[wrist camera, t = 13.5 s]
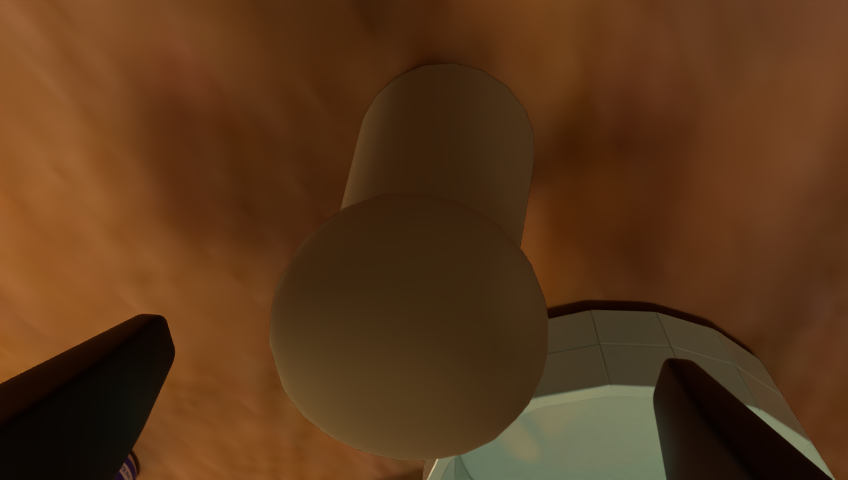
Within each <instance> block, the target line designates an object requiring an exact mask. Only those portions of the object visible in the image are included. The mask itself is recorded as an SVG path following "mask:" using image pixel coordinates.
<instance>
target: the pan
mask: <svg viewBox="0 0 848 480" xmlns="http://www.w3.org/2000/svg"><path fill="white" fill-rule="evenodd" d="M668 358H678V359H689V360H692V361H694V362H695V363H696V364H698V365H699V366H700V367H701V368H702V369H703V370H705V371H706V372H707V373H708V374H709V375H711V376H712V377H713V378H714V379H715V380H716V381H718V382H719V383H720V384H721V385H722V386H724V387H725V388H726V389H727V390H728V391H729V392H731V393H732V394H733V395H734V396H735V397H736V398H738V399H739V400H740V401H741V402H742V403H744V404H745V405H746V406H747V407H748V408H749V409H751V410H752V411H753V412H754V413H755V414H756V415H758V416H759V417H760V418H761V419H762V420H764V421H765V422H766V423H767V424H768V425H769V426H771V427H772V428H773V429H774V430H775V431H776V432H778V433H779V434H780V435H781V436H782V437H784V438H785V439H786V440H787V441H788V442H789V443H791V444H792V445H793V446H794V447H795V448H797V449H798V450H799V451H800V452H801V453H802V454H804V455H805V456H806V457H807V458H808V459H809V460H811V461H812V462H813V463H814V464H815V465H817V466H818V467H819V468H820V469H821V470H822V471H824V472H825V473H826V474H827V475H828V476H829V477H831V478H832V479H833V480H836V479H835V478H834V476H833V475H832V473H831V471H830V470H829V468H828V467H827V465H826V464H825V462H824V460H823V459H822V457H821V456H820V454H819V452H818V451H817V449H816V448H815V446H814V445H813V443H812V441H811V440H810V438H809V437H808V435H807V433H806V432H805V430H804V429H803V427H802V426H801V424H800V422H799V421H798V419H797V418H796V416H795V414H794V413H793V411H792V410H791V408H790V407H789V405H788V403H787V402H786V400H785V399H784V397H783V396H782V394H781V392H780V391H779V389H778V388H777V386H776V384H775V383H774V381H773V380H772V378H771V377H770V375H769V373H768V372H767V370H766V369H765V367H764V366H763V364H762V362H761V361H760V360H759V359H758V358H756V357H755V356H753V355H752V354H750V353H749V352H747V351H746V350H744V349H743V348H741V347H740V346H739V345H737V344H736V343H734V342H733V341H731V340H730V339H728V338H727V337H725V336H724V335H722V334H721V333H719V332H718V331H716V330H714V329H712V328H709V327H705V326H702V325H699V324H695V323H692V322H689V321H685V320H682V319H679V318H675V317H672V316H668V315H665V314H662V313H658V312H656V313H655V312H647V311H616V310H591V311H583V312H578V313H573V314H569V315H564V316H559V317H555V318H550V319H548V354H547V359H546V363H545V367H544V372H543V375H542V377H541V380H540V382H539V384H538V386H537V388H536V390H535V392H534V394H533V397H532V399H531V401H530V403H529V405H528V406H527V407H526V408H525V409H524V411H523V412H522V413H521V414H520V415H519V417H518V418H517V419H516V420H515V421H514V422H513V423H512V424H511V425H510V426H509V427H508V428H506V429H505V430H504V431H503V432H502V433H501V434H500V435H499V436H498V437H497V438H496V439H495V440H493V441H491V442H489V443H487V444H485V445H483V446H481V447H479V448H477V449H475V450H472V451H470V452H468V453H466V454H463V455H458V456H452V457H447V458H442V459H437V460H432V461H429V460H425V463H424V471H423V479H422V480H666V475H665V469H664V464H663V458H662V452H661V447H660V441H659V436H658V430H657V424H656V419H655V413H654V407H653V393H654V389H655V386H656V383H657V380H658V377H659V374H660V371H661V368H662V365H663V363H664V361H665V360H666V359H668Z"/></svg>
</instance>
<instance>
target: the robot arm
mask: <svg viewBox="0 0 848 480" xmlns="http://www.w3.org/2000/svg"><path fill="white" fill-rule="evenodd" d="M174 357H175V347H174V344H173V341H172V337H171V334H170V330H169V327H168V324H167V321H166V319H165V318H164V317H163V316H161V315H153V314H139V315H137V316H135V317H133V318H131V319H129V320H127V321H125V322H123V323H121V324H119V325H117V326H115V327H113V328H111V329H109V330H107V331H105V332H103V333H101V334H99V335H97V336H95V337H93V338H91V339H89V340H87V341H85V342H83V343H81V344H79V345H77V346H75V347H73V348H71V349H69V350H67V351H65V352H63V353H61V354H59V355H57V356H55V357H53V358H51V359H49V360H47V361H45V362H43V363H41V364H39V365H37V366H35V367H33V368H31V369H29V370H27V371H25V372H23V373H21V374H19V375H17V376H15V377H13V378H11V379H9V380H7V381H5V382H3V383H1V384H0V480H115V478H116V476H117V474H118V473H119V471H120V469H121V468H122V466H123V464H124V462H125V461H126V459H127V457H128V455H129V454H130V452H131V450H132V448H133V447H134V445H135V443H136V441H137V439H138V438H139V436H140V434H141V432H142V430H143V428H144V426H145V424H146V421H147V419H148V417H149V415H150V413H151V410H152V408H153V406H154V404H155V401H156V399H157V397H158V395H159V393H160V390H161V388H162V386H163V384H164V381H165V379H166V377H167V375H168V372H169V370H170V368H171V366H172V364H173V361H174ZM653 407H654V413H655V419H656V424H657V430H658V436H659V441H660V447H661V452H662V458H663V464H664V469H665V475H666V480H833V479H832V478H831V477H829V476H828V475H827V474H826V473H825V472H824V471H822V470H821V469H820V468H819V467H818V466H817V465H815V464H814V463H813V462H812V461H811V460H809V459H808V458H807V457H806V456H805V455H804V454H802V453H801V452H800V451H799V450H798V449H797V448H795V447H794V446H793V445H792V444H791V443H789V442H788V441H787V440H786V439H785V438H784V437H782V436H781V435H780V434H779V433H778V432H776V431H775V430H774V429H773V428H772V427H771V426H769V425H768V424H767V423H766V422H765V421H764V420H762V419H761V418H760V417H759V416H758V415H756V414H755V413H754V412H753V411H752V410H751V409H749V408H748V407H747V406H746V405H745V404H744V403H742V402H741V401H740V400H739V399H738V398H736V397H735V396H734V395H733V394H732V393H731V392H729V391H728V390H727V389H726V388H725V387H724V386H722V385H721V384H720V383H719V382H718V381H716V380H715V379H714V378H713V377H712V376H711V375H709V374H708V373H707V372H706V371H705V370H703V369H702V368H701V367H700V366H699V365H698V364H696V363H695V362H694V361H692V360H689V359H678V358H668V359H666V360H665V361H664V363H663V365H662V368H661V371H660V374H659V377H658V380H657V383H656V386H655V389H654V393H653Z"/></svg>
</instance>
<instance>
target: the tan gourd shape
mask: <svg viewBox="0 0 848 480" xmlns="http://www.w3.org/2000/svg"><path fill="white" fill-rule="evenodd" d="M533 166H534V134H533V131H532V128H531V125H530V122H529V119H528V116H527V113H526V111H525V109H524V107H523V106H522V105H521V104H520V102H519V101H518V100H517V98H516V97H515V96H514V95H513V93H512V92H511V91H510V90H509V88H508V87H507V86H505V85H504V84H502V83H501V82H499V81H498V80H496V79H495V78H493V77H491V76H490V75H488V74H487V73H485V72H484V71H482V70H478V69H474V68H470V67H466V66H462V65H458V64H454V63H449V64H436V65H423V66H421V67H418V68H416V69H414V70H412V71H409V72H407V73H405V74H402V75H400V76H398V77H396V78H395V79H394V80H393V81H391V82H390V83H389V84H388V85H387V86H386V87H385V88H384V89H383V90H382V91H380V92H379V93H378V94H377V95H376V96H375V98H374V100H373V102H372V103H371V105H370V107H369V109H368V111H367V113H366V115H365V116H364V118H363V121H362V125H361V129H360V133H359V137H358V141H357V145H356V149H355V153H354V157H353V161H352V165H351V169H350V173H349V177H348V181H347V185H346V189H345V193H344V197H343V201H342V205H341V209H340V211H339V212H337V213H336V214H334V215H333V216H332V217H330V218H329V219H328V220H327V221H325V222H324V223H323V224H322V225H321V226H319V227H318V228H317V229H316V230H315V231H313V232H312V233H311V234H310V235H308V236H307V237H306V238H305V239H304V240H303V241H302V242H301V244H300V245H299V247H298V248H297V250H296V252H295V253H294V255H293V256H292V258H291V260H290V262H289V263H288V265H287V267H286V269H285V271H284V273H283V275H282V276H281V278H280V280H279V282H278V284H277V286H276V287H275V292H274V298H273V303H272V309H271V321H270V333H269V344H270V347H271V350H272V354H273V357H274V361H275V364H276V367H277V370H278V373H279V377H280V380H281V383H282V386H283V389H284V391H285V392H286V394H287V395H288V396H289V398H290V399H291V400H292V402H293V403H294V404H295V406H296V407H297V408H298V410H299V411H300V413H301V414H302V415H303V416H304V417H305V418H307V419H308V420H309V421H310V422H312V423H313V424H314V425H315V426H317V427H318V428H319V429H321V430H322V431H323V432H324V433H326V434H327V435H328V436H330V437H332V438H334V439H336V440H338V441H340V442H342V443H345V444H347V445H349V446H351V447H353V448H355V449H357V450H359V451H362V452H366V453H370V454H375V455H379V456H383V457H387V458H391V459H396V460H429V461H432V460H437V459H442V458H447V457H452V456H458V455H463V454H466V453H468V452H470V451H472V450H475V449H477V448H479V447H481V446H483V445H485V444H487V443H489V442H491V441H493V440H495V439H496V438H497V437H498V436H499V435H500V434H501V433H502V432H503V431H504V430H505V429H506V428H508V427H509V426H510V425H511V424H512V423H513V422H514V421H515V420H516V419H517V418H518V417H519V415H520V414H521V413H522V412H523V411H524V409H525V408H526V407H527V406H528V405H529V403H530V401H531V399H532V397H533V394H534V392H535V390H536V388H537V386H538V384H539V382H540V380H541V377H542V375H543V372H544V367H545V363H546V359H547V354H548V314H547V308H546V302H545V298H544V295H543V293H542V290H541V288H540V285H539V283H538V280H537V278H536V275H535V273H534V270H533V267H532V265H531V263H530V262H529V260H528V259H527V257H526V256H525V254H524V253H523V251H522V250H521V249H520V245H521V239H522V233H523V227H524V221H525V215H526V209H527V202H528V196H529V190H530V184H531V178H532V172H533Z"/></svg>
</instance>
